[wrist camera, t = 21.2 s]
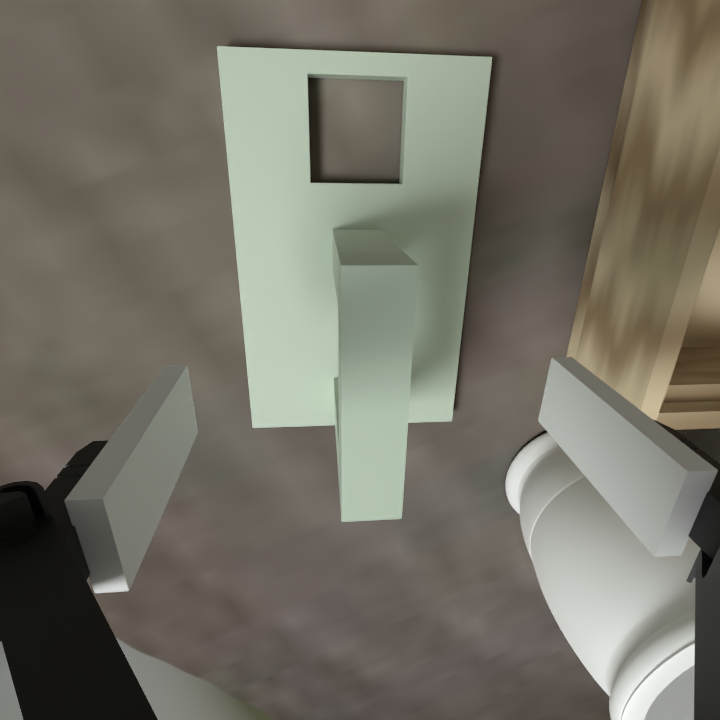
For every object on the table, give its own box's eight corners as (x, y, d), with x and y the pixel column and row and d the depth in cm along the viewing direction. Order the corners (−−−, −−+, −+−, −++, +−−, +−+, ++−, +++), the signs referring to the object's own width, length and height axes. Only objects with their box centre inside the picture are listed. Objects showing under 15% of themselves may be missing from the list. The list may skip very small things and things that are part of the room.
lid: (221, 51, 20) (134, -56, 11) (484, 61, 21) (622, -28, 12) (254, 419, 28) (221, 550, 18) (447, 413, 29) (512, 534, 19)
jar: (659, 426, 31) (934, 631, 17) (592, 538, 35) (773, 780, 21) (524, 396, 29) (711, 599, 15) (467, 517, 33) (577, 770, 19)
